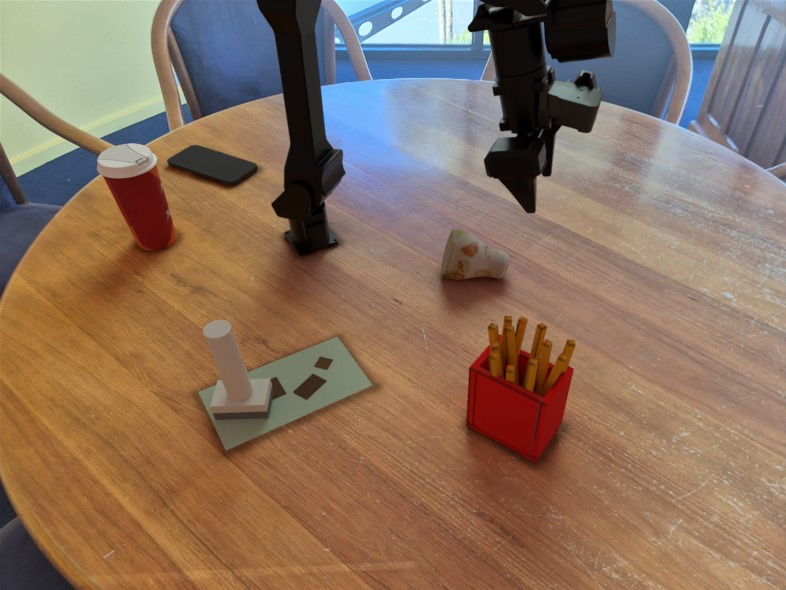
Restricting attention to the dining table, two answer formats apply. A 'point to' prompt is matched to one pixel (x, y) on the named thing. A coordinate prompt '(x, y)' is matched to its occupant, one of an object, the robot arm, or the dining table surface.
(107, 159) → the paper cup
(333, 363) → the mat
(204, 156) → the phone
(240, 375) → the white peg on base
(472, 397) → the french fries container
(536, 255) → the dining table surface
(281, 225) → the dining table surface
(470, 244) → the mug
